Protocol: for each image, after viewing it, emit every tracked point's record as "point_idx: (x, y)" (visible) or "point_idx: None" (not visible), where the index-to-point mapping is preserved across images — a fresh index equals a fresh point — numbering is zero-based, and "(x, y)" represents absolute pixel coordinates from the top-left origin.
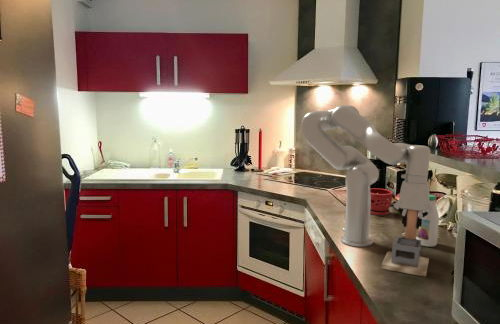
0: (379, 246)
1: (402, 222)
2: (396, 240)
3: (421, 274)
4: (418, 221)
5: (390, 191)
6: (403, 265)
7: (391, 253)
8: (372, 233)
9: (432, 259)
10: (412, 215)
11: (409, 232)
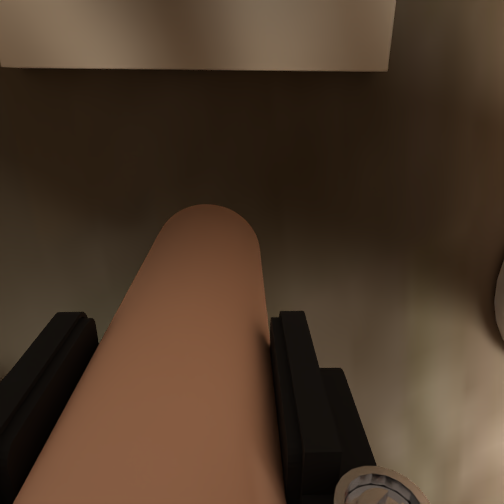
0: (440, 256)
1: (336, 374)
2: None
3: None
4: (5, 401)
5: None
6: None
7: (351, 17)
8: (481, 479)
9: (11, 158)
10: (108, 501)
11: (202, 260)
